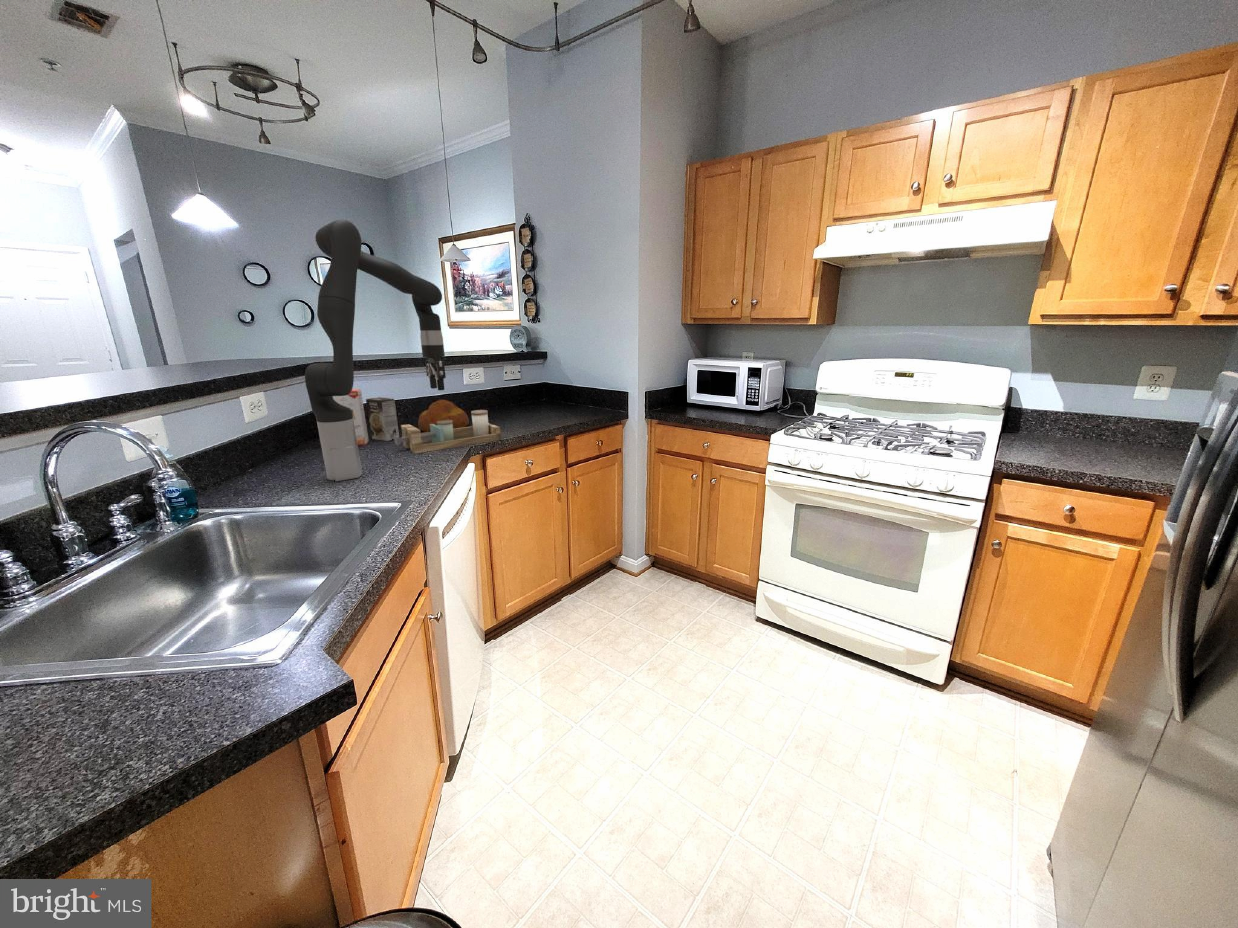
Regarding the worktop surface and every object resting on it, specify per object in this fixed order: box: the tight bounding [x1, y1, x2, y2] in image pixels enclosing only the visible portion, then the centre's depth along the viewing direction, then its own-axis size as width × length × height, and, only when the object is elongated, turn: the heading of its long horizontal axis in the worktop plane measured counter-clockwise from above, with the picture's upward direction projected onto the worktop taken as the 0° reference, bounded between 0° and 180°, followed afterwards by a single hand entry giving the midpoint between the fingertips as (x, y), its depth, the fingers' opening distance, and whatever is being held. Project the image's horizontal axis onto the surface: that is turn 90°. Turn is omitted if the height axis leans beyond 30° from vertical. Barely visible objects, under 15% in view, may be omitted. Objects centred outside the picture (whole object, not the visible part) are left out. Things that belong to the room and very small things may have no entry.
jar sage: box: [437, 420, 455, 441], centre depth 181 cm, size 6×6×9 cm
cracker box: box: [332, 388, 370, 446], centre depth 181 cm, size 14×6×21 cm, turn 105°
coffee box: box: [365, 397, 400, 442], centre depth 191 cm, size 9×6×16 cm
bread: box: [417, 399, 470, 433], centre depth 211 cm, size 21×33×12 cm, turn 2°
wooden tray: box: [400, 422, 502, 454], centre depth 183 cm, size 14×33×8 cm, turn 128°
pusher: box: [393, 424, 444, 446], centre depth 176 cm, size 11×15×7 cm
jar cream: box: [470, 409, 489, 437], centre depth 189 cm, size 6×6×11 cm
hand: (437, 389), depth 176 cm, fingers open, 8 cm apart
